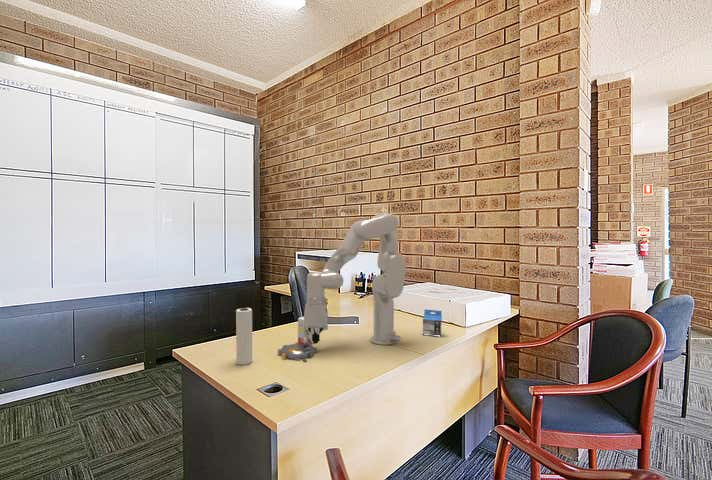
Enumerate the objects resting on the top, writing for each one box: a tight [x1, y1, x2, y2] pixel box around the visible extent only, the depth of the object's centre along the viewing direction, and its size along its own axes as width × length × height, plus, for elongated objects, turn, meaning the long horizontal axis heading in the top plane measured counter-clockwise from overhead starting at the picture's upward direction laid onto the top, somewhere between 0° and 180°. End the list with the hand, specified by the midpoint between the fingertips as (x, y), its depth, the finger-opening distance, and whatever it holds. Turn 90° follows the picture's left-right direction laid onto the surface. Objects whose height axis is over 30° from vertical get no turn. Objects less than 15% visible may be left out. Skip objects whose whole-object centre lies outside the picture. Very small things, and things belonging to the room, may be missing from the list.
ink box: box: [297, 316, 317, 344], centre depth 168 cm, size 9×5×12 cm, turn 136°
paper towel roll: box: [235, 307, 253, 366], centre depth 142 cm, size 7×6×21 cm
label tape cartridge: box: [422, 309, 443, 336], centre depth 179 cm, size 9×4×12 cm, turn 68°
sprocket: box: [277, 336, 318, 362], centre depth 152 cm, size 16×16×6 cm
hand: (315, 342), depth 156 cm, fingers closed
